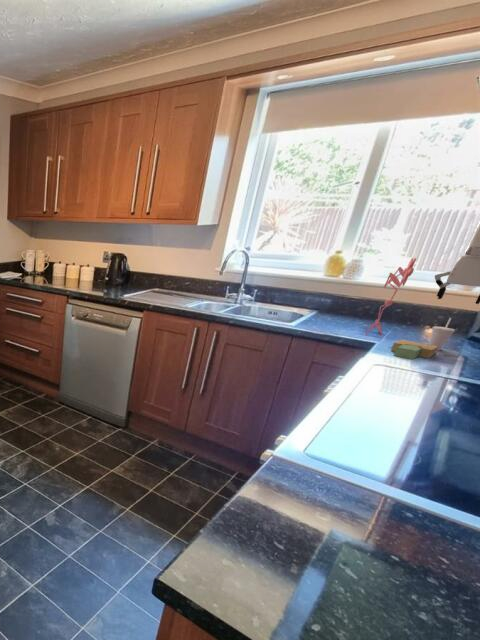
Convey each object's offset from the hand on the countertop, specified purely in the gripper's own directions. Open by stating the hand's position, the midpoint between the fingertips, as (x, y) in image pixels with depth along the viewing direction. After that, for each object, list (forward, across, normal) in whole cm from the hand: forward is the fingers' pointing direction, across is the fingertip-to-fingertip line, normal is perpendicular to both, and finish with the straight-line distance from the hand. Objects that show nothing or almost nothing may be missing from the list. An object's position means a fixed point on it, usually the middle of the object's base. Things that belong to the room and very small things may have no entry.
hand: (457, 301), depth 156 cm
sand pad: (+22, +6, -4) cm, 23 cm away
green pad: (+22, +6, +5) cm, 24 cm away
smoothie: (+22, +2, -17) cm, 28 cm away
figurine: (+22, +21, -34) cm, 46 cm away
